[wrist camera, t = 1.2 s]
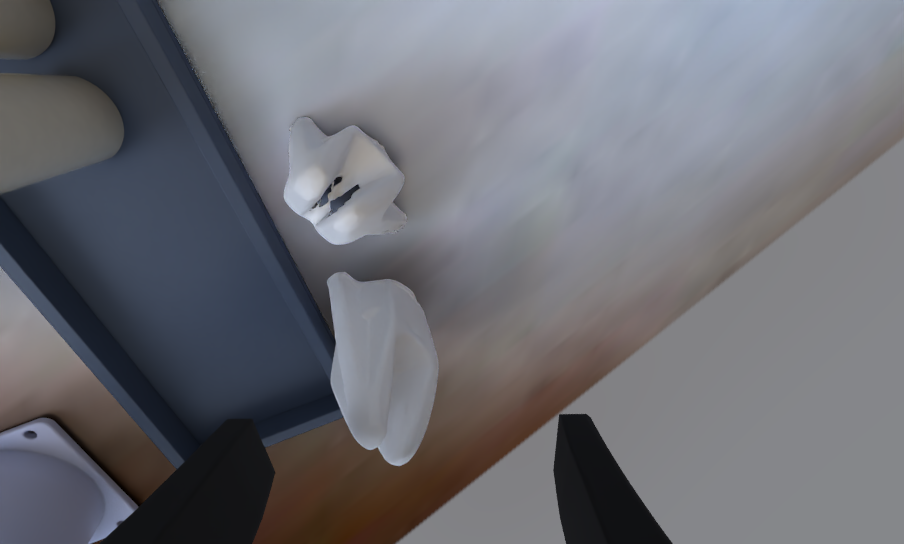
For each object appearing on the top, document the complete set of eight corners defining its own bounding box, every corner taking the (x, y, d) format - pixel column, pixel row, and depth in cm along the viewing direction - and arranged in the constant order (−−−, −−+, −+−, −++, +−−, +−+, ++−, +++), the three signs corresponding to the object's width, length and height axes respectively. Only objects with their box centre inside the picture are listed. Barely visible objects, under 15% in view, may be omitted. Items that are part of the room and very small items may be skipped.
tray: (197, 448, 24) (184, 479, 22) (-217, -62, 13) (-305, -84, 12) (360, 386, 24) (360, 411, 22) (76, -153, 14) (34, -188, 12)
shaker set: (428, 340, 24) (480, 528, 14) (350, 357, 23) (345, 566, 13) (386, 104, 19) (419, 132, 9) (285, 119, 18) (198, 167, 8)
